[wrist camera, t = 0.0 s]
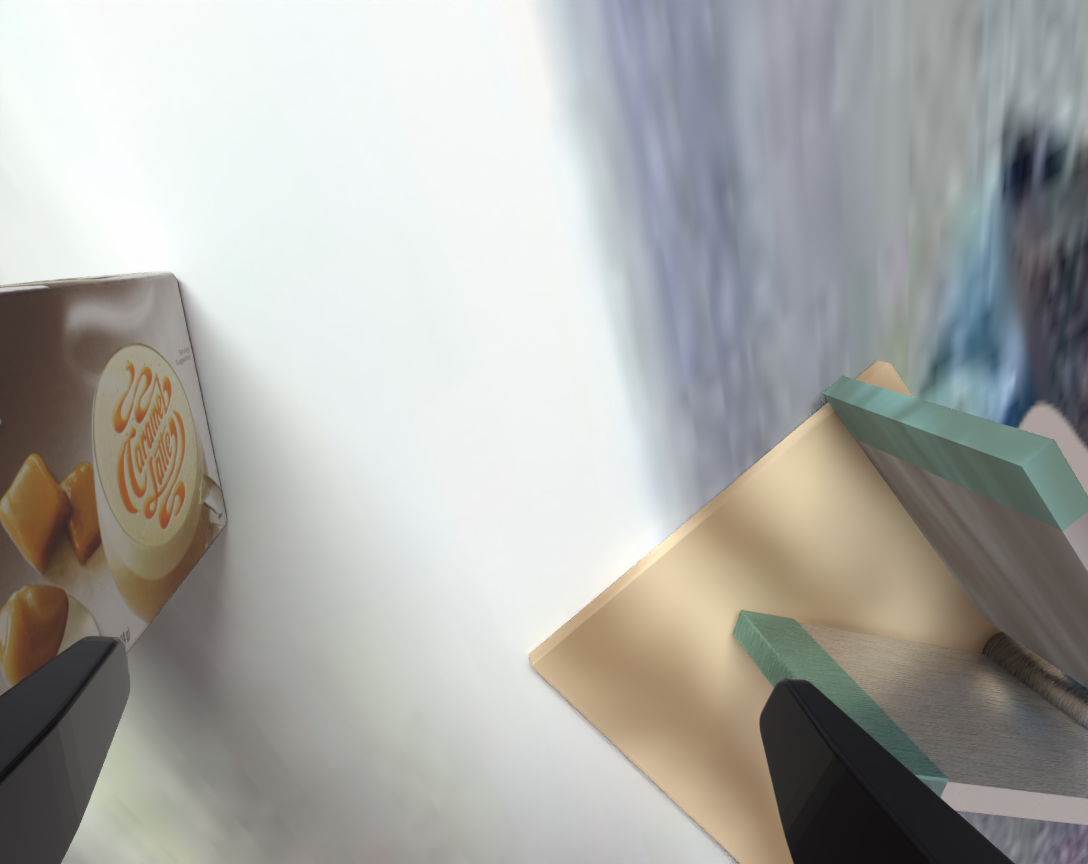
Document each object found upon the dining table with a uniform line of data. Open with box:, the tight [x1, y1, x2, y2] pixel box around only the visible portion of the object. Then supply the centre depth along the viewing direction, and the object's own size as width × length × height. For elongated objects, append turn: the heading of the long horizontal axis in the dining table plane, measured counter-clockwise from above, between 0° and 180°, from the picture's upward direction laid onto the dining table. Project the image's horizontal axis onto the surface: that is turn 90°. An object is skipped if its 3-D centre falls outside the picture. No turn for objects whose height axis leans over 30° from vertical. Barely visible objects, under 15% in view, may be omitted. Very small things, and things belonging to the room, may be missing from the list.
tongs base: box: [529, 361, 1088, 864], centre depth 24 cm, size 18×19×10 cm
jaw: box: [733, 610, 1088, 825], centre depth 24 cm, size 2×13×9 cm, turn 76°
